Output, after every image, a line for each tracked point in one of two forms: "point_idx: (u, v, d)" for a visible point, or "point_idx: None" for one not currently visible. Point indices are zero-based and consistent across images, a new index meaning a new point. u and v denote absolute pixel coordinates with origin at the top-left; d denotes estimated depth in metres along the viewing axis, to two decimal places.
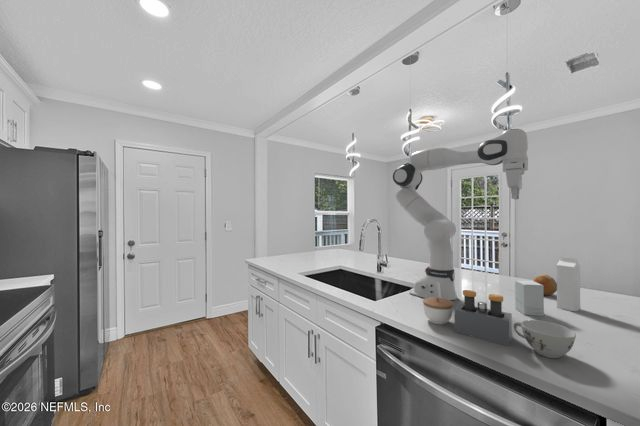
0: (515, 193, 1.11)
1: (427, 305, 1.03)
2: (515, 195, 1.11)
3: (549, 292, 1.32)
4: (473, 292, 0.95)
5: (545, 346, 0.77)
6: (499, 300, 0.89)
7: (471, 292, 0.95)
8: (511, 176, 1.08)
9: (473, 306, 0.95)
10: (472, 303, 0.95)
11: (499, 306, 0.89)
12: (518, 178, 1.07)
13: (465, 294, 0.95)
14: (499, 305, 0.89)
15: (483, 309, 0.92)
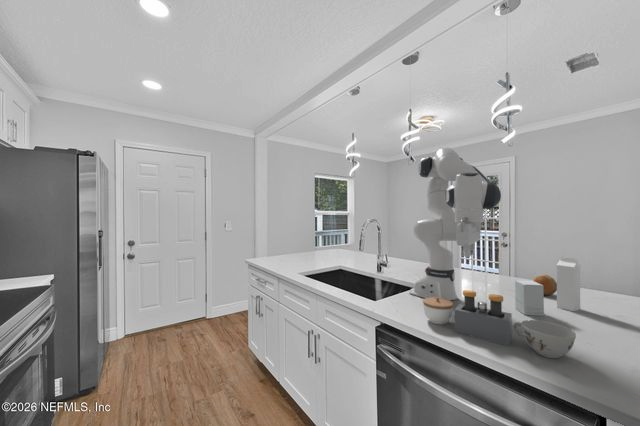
0: None
1: (427, 305, 1.03)
2: None
3: (549, 292, 1.32)
4: (473, 292, 0.95)
5: (545, 346, 0.77)
6: (499, 300, 0.89)
7: (471, 292, 0.95)
8: None
9: (473, 306, 0.95)
10: (472, 303, 0.95)
11: (499, 306, 0.89)
12: None
13: (465, 294, 0.95)
14: (499, 305, 0.89)
15: (483, 309, 0.92)
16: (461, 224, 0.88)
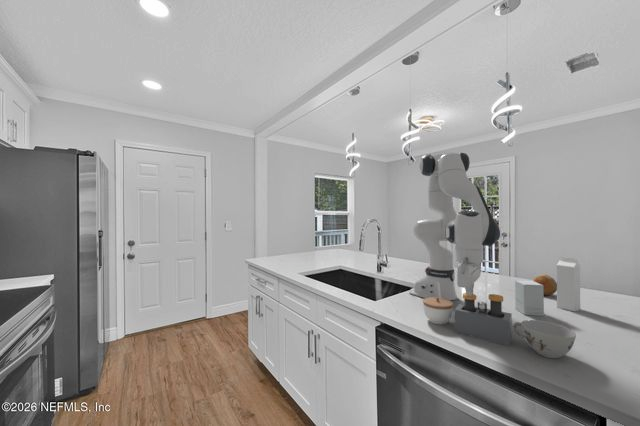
0: None
1: (427, 305, 1.03)
2: None
3: (549, 292, 1.32)
4: (473, 295, 0.95)
5: (545, 346, 0.77)
6: (499, 300, 0.89)
7: (471, 295, 0.95)
8: None
9: (473, 309, 0.95)
10: (472, 306, 0.95)
11: (499, 306, 0.89)
12: None
13: (465, 297, 0.95)
14: (499, 305, 0.89)
15: (483, 309, 0.92)
16: (462, 266, 0.88)
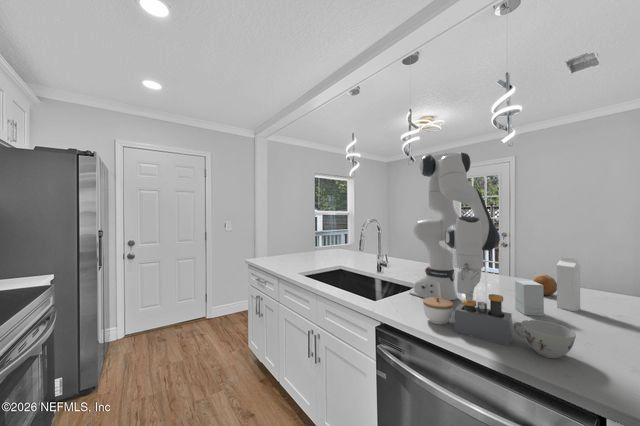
0: None
1: (427, 305, 1.03)
2: None
3: (549, 292, 1.32)
4: (473, 301, 0.95)
5: (545, 346, 0.77)
6: (499, 300, 0.89)
7: (471, 302, 0.95)
8: None
9: None
10: None
11: (499, 306, 0.89)
12: None
13: (465, 303, 0.95)
14: (499, 305, 0.89)
15: (483, 309, 0.92)
16: (461, 272, 0.88)
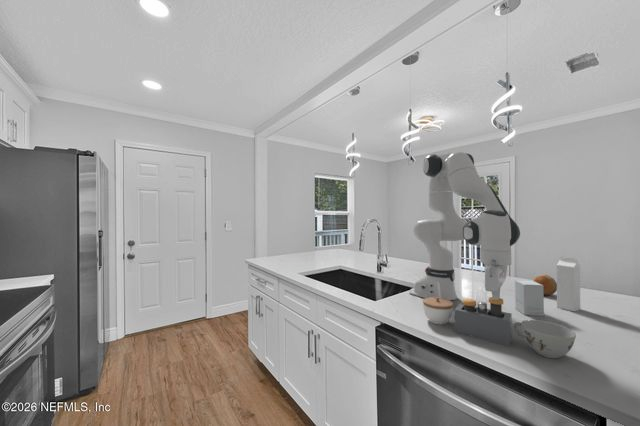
0: None
1: (427, 305, 1.03)
2: None
3: (549, 292, 1.32)
4: (473, 301, 0.95)
5: (545, 346, 0.77)
6: (499, 303, 0.89)
7: (471, 302, 0.95)
8: None
9: None
10: None
11: (499, 309, 0.89)
12: None
13: (465, 303, 0.95)
14: (499, 308, 0.89)
15: (483, 309, 0.92)
16: (490, 269, 0.83)
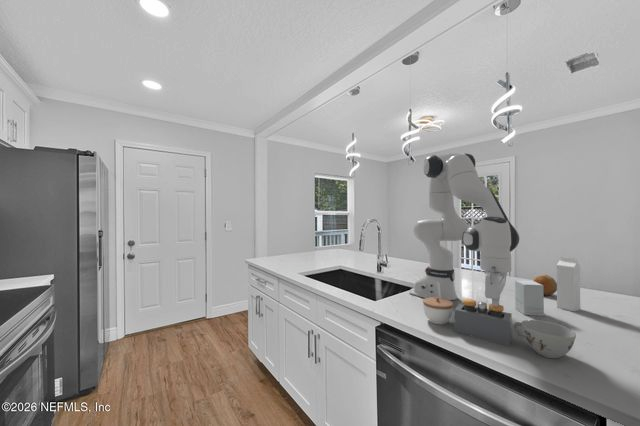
0: None
1: (427, 305, 1.03)
2: None
3: (549, 292, 1.32)
4: (473, 301, 0.95)
5: (545, 346, 0.77)
6: (499, 310, 0.89)
7: (471, 302, 0.95)
8: None
9: None
10: None
11: (499, 316, 0.89)
12: None
13: (465, 303, 0.95)
14: (499, 315, 0.89)
15: (483, 309, 0.92)
16: (490, 276, 0.83)
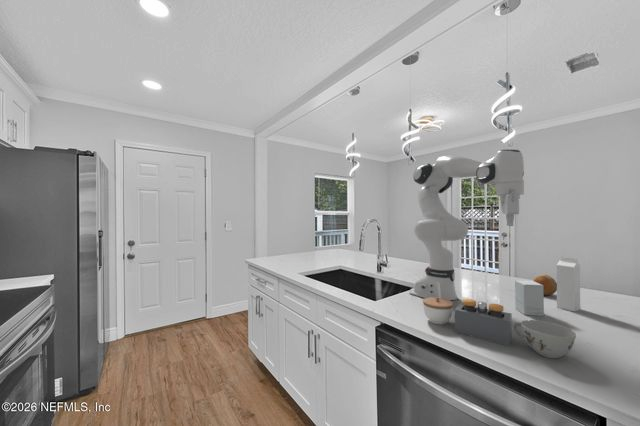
0: None
1: (427, 305, 1.03)
2: None
3: (549, 292, 1.32)
4: (473, 301, 0.95)
5: (545, 346, 0.77)
6: (499, 310, 0.89)
7: (471, 302, 0.95)
8: None
9: None
10: None
11: (499, 316, 0.89)
12: None
13: (465, 303, 0.95)
14: (499, 315, 0.89)
15: (483, 309, 0.92)
16: (512, 194, 0.95)
